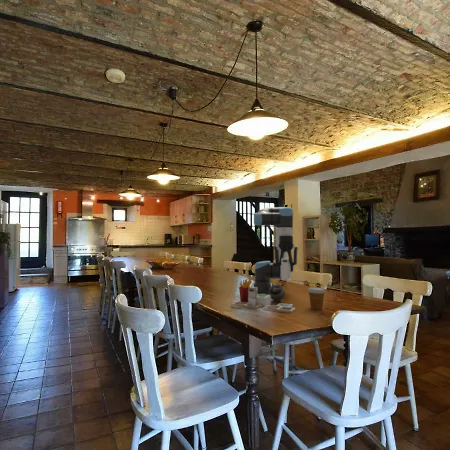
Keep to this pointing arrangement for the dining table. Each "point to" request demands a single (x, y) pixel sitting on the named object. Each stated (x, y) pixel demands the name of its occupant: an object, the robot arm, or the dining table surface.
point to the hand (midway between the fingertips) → (286, 277)
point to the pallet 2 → (279, 308)
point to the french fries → (244, 290)
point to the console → (264, 300)
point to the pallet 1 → (249, 300)
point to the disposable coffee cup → (316, 297)
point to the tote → (285, 305)
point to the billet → (285, 269)
